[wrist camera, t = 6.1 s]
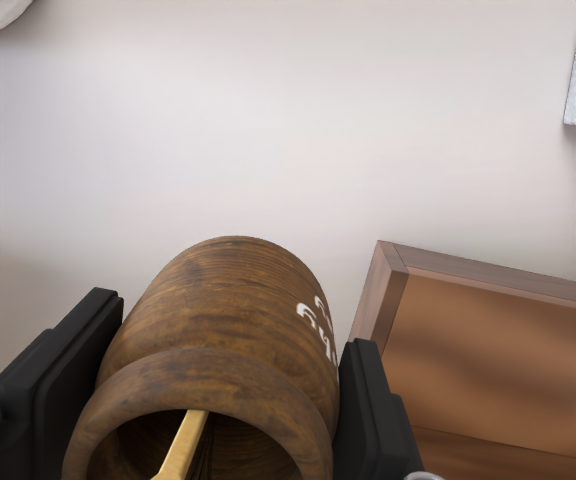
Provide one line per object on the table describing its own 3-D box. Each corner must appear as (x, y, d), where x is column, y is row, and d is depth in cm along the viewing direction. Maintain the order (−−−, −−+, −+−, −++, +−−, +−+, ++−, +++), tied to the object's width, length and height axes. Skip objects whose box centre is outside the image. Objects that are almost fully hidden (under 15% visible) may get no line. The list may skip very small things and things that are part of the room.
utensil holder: (154, 378, 16) (-211, 1145, 4) (150, 210, 13) (-595, 874, 2) (319, 392, 16) (372, 1187, 4) (341, 226, 14) (553, 961, 2)
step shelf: (377, 239, 29) (424, 339, 18) (637, 294, 29) (844, 425, 18) (310, 466, 36) (312, 645, 24) (523, 507, 36) (622, 699, 25)
